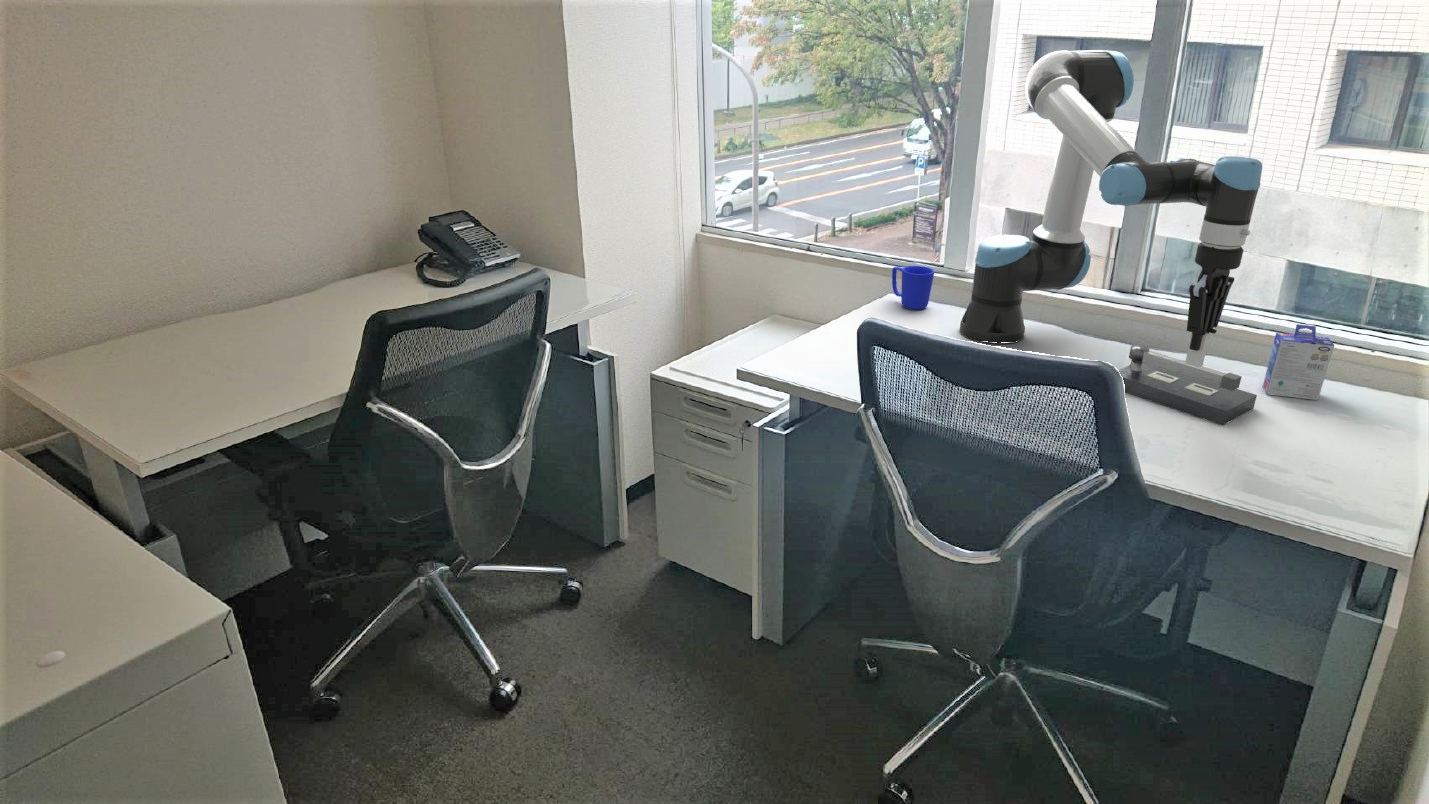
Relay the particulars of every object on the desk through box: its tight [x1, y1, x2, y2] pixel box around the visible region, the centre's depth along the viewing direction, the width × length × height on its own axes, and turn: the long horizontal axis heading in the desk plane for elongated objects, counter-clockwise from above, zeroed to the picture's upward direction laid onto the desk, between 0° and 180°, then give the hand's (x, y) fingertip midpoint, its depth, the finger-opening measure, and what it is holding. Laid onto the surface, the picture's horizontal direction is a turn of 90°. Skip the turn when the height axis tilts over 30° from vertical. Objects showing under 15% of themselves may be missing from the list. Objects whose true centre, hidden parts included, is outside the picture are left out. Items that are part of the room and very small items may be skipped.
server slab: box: [1118, 359, 1258, 426], centre depth 189 cm, size 24×13×5 cm, turn 38°
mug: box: [891, 265, 935, 311], centre depth 242 cm, size 8×12×10 cm
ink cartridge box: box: [1262, 323, 1335, 401], centre depth 190 cm, size 10×6×14 cm, turn 72°
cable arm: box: [1128, 344, 1243, 391], centre depth 188 cm, size 22×4×3 cm, turn 38°
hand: (1193, 364), depth 178 cm, fingers closed
